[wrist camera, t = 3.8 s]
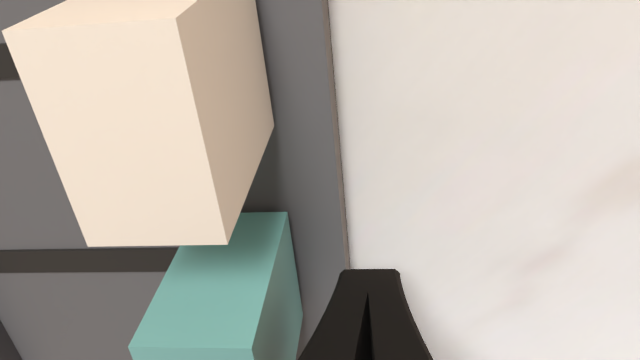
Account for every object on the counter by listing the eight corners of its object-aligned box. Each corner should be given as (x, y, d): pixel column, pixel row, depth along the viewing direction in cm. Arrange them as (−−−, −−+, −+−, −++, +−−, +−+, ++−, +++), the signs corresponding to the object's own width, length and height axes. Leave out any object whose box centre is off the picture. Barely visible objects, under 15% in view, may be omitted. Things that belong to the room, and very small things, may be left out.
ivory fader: (274, 125, 12) (227, 244, 9) (174, 129, 13) (87, 247, 9) (248, -42, 10) (175, 18, 7) (132, -32, 11) (2, 30, 7)
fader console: (357, 348, 18) (354, 399, 17) (32, 345, 20) (-1, 391, 18) (317, -122, 11) (305, -117, 9) (-187, -69, 13) (-275, -57, 11)
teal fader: (302, 314, 15) (277, 463, 12) (222, 314, 16) (172, 458, 12) (287, 211, 14) (251, 348, 10) (196, 214, 14) (128, 346, 10)
